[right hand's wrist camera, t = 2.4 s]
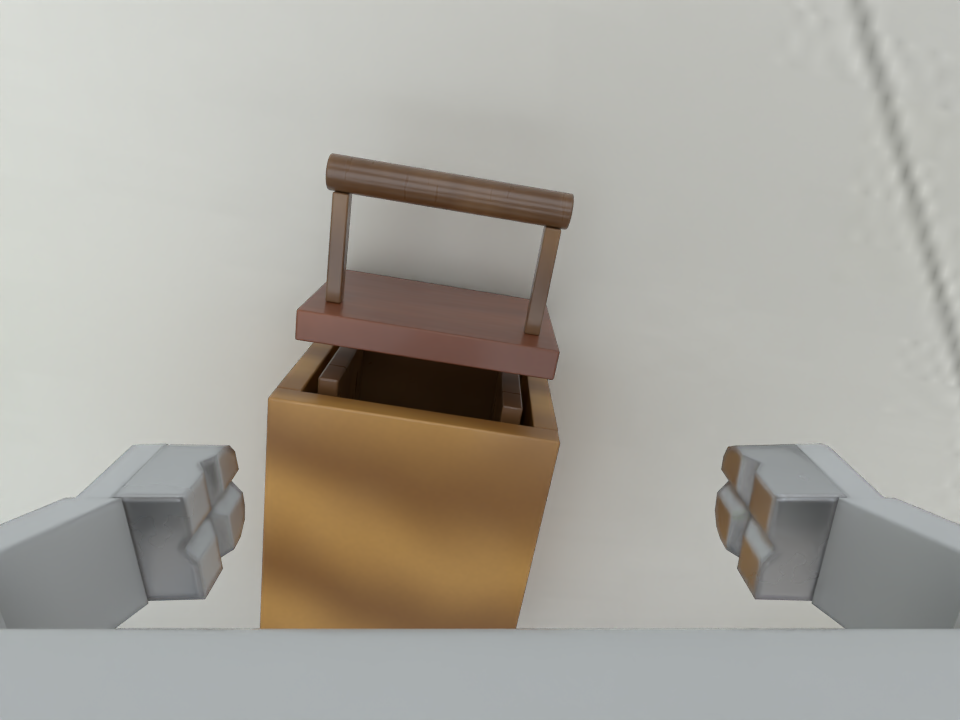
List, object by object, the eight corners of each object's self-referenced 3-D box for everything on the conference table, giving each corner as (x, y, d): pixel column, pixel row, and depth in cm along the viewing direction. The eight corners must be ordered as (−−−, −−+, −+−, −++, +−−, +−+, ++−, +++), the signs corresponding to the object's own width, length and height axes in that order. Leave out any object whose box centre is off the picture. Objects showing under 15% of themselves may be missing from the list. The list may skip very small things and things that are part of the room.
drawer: (349, 146, 26) (303, 153, 20) (570, 183, 27) (593, 202, 20) (318, 540, 34) (279, 634, 28) (490, 565, 34) (490, 663, 28)
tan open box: (327, 323, 30) (266, 397, 22) (543, 358, 31) (561, 442, 23) (308, 589, 36) (255, 721, 28) (488, 614, 37) (486, 752, 29)
